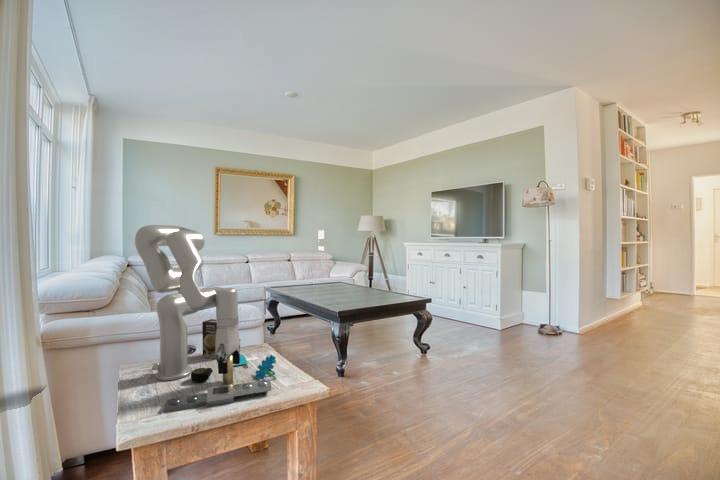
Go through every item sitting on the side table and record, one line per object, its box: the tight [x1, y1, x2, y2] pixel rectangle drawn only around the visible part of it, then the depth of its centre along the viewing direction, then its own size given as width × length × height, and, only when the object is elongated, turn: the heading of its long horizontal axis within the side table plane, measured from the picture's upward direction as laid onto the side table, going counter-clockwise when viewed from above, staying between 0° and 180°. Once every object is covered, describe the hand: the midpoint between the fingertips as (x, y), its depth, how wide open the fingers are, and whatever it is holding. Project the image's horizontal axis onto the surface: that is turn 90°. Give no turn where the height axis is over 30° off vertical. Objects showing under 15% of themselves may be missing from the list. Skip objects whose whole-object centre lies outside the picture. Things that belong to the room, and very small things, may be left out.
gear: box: [254, 354, 277, 381], centre depth 133 cm, size 11×6×10 cm
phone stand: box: [233, 354, 260, 369], centre depth 151 cm, size 20×12×2 cm, turn 29°
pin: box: [222, 354, 234, 385], centre depth 128 cm, size 4×4×10 cm
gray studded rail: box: [163, 379, 272, 413], centre depth 114 cm, size 32×8×4 cm, turn 110°
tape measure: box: [190, 367, 214, 383], centre depth 131 cm, size 7×7×4 cm
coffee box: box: [201, 318, 217, 359], centre depth 158 cm, size 9×6×16 cm
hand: (229, 368), depth 127 cm, fingers open, 9 cm apart
